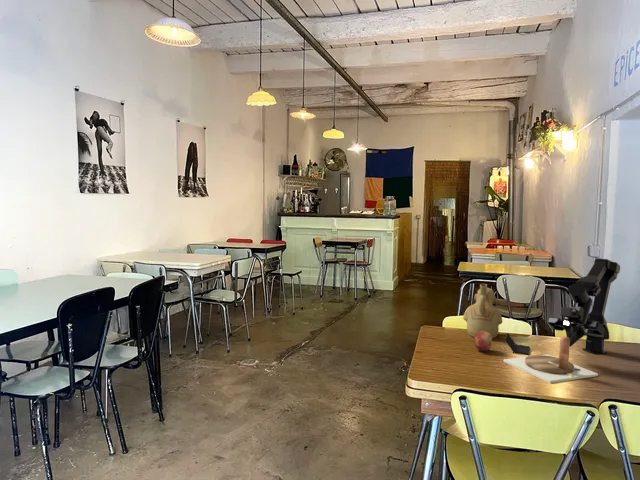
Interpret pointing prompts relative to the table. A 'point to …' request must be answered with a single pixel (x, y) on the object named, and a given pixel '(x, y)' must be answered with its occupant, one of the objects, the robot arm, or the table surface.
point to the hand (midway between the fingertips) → (569, 345)
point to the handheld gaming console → (517, 346)
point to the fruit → (483, 341)
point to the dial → (553, 360)
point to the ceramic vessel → (483, 313)
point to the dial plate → (550, 377)
